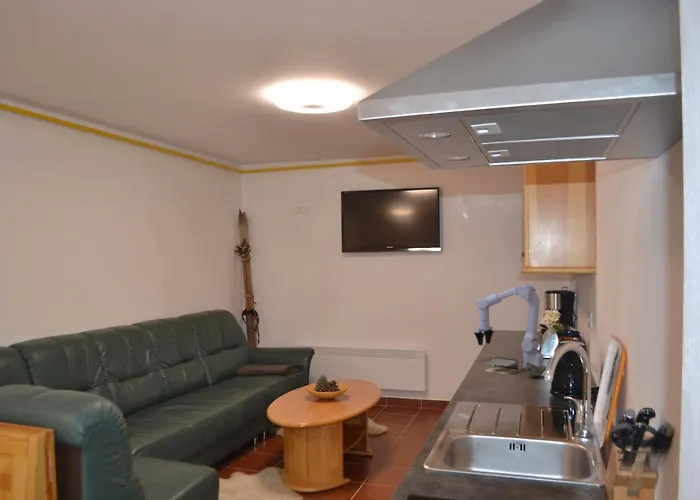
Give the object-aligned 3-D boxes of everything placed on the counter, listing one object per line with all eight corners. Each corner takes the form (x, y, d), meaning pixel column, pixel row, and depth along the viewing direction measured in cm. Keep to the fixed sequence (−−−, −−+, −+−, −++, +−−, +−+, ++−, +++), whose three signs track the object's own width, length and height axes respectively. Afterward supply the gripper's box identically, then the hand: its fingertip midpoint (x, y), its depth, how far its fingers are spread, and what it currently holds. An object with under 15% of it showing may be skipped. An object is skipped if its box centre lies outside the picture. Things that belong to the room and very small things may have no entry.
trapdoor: (523, 367, 284) (523, 358, 284) (508, 373, 271) (508, 364, 271) (500, 364, 293) (500, 355, 293) (485, 369, 279) (485, 361, 279)
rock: (530, 364, 273) (549, 368, 266) (528, 376, 272) (546, 380, 265) (519, 360, 266) (538, 363, 259) (517, 372, 265) (536, 376, 257)
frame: (522, 370, 280) (522, 359, 280) (511, 375, 270) (511, 363, 270) (493, 366, 290) (493, 356, 290) (482, 370, 281) (482, 359, 281)
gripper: (484, 318, 311) (484, 341, 311) (470, 320, 301) (470, 345, 301) (495, 319, 306) (495, 343, 306) (481, 321, 296) (482, 346, 296)
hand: (484, 344), depth 303 cm, fingers open, 7 cm apart
